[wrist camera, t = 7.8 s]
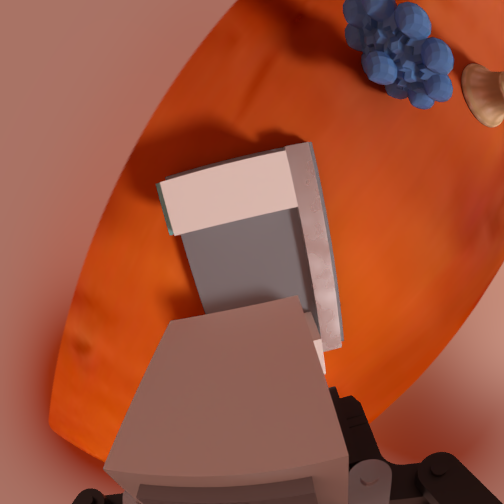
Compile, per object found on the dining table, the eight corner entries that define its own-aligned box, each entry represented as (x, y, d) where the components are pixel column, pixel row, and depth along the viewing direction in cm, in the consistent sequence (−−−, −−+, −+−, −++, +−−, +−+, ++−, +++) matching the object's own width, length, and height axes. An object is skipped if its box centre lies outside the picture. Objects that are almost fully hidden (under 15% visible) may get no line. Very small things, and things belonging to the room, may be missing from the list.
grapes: (299, 54, 22) (328, -11, 11) (341, 19, 21) (384, -44, 10) (387, 139, 25) (464, 128, 13) (422, 99, 23) (498, 77, 12)
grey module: (170, 320, 11) (97, 481, 4) (297, 295, 11) (353, 472, 4) (226, 442, 13) (217, 563, 6) (320, 427, 13) (346, 550, 6)
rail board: (169, 176, 26) (145, 179, 20) (308, 143, 25) (325, 135, 19) (224, 357, 31) (219, 397, 25) (340, 333, 30) (357, 369, 24)
